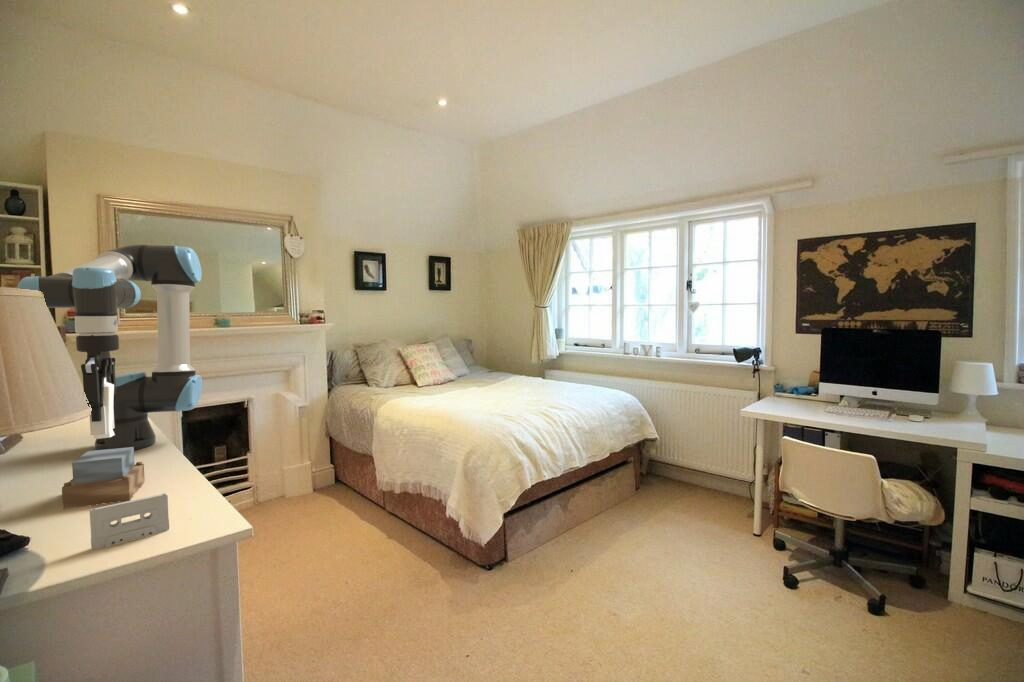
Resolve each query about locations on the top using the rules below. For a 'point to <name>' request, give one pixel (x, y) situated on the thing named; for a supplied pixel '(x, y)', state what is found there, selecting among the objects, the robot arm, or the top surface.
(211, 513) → the top surface
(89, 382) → the robot arm
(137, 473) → the blue block on board
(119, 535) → the cassette
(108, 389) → the perfume bottle
